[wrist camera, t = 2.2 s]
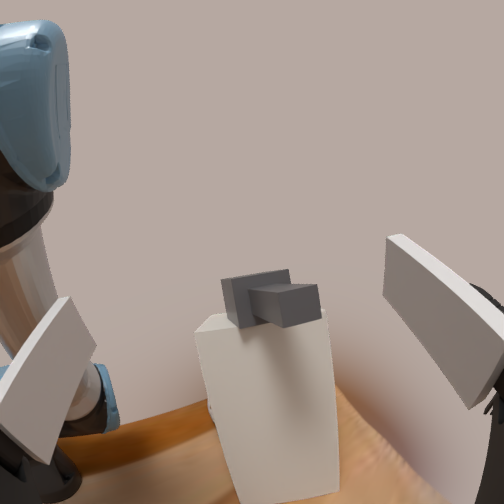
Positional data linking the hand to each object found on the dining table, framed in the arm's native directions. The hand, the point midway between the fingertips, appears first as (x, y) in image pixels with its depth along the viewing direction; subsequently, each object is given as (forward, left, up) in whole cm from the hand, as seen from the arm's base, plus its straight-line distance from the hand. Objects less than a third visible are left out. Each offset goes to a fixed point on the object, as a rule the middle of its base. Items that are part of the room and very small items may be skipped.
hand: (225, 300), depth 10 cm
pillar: (-15, +19, -33) cm, 40 cm away
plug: (-10, +14, -5) cm, 18 cm away
